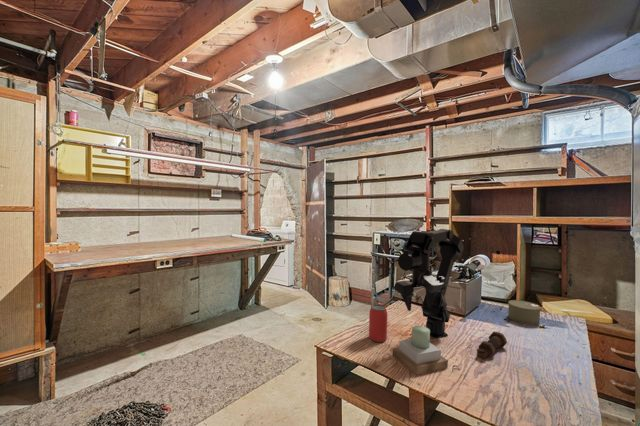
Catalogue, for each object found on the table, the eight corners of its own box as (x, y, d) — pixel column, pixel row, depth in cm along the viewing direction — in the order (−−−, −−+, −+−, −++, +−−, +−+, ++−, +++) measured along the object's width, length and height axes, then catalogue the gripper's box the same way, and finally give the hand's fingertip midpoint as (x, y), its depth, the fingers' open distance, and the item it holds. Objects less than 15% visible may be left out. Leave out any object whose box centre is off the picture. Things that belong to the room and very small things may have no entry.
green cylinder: (421, 339, 98) (421, 324, 98) (433, 347, 93) (433, 331, 93) (408, 342, 96) (408, 327, 96) (419, 350, 91) (420, 334, 91)
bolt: (478, 363, 97) (496, 348, 107) (493, 361, 94) (509, 346, 103) (470, 345, 99) (487, 332, 109) (483, 343, 96) (501, 329, 105)
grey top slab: (421, 345, 100) (421, 337, 100) (440, 359, 91) (440, 349, 91) (399, 349, 97) (399, 340, 97) (416, 364, 88) (417, 354, 88)
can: (503, 313, 138) (503, 298, 138) (531, 315, 136) (532, 301, 136) (514, 323, 127) (515, 307, 126) (545, 326, 124) (546, 310, 124)
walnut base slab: (421, 351, 102) (421, 342, 102) (447, 369, 91) (447, 360, 91) (392, 357, 98) (392, 348, 98) (416, 377, 87) (416, 367, 87)
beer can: (386, 343, 106) (387, 311, 105) (368, 341, 107) (369, 309, 106) (386, 335, 112) (387, 304, 112) (369, 333, 113) (369, 303, 113)
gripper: (415, 273, 94) (414, 321, 94) (458, 269, 101) (456, 313, 102) (393, 266, 104) (392, 309, 105) (434, 262, 111) (433, 302, 112)
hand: (419, 309), depth 106 cm, fingers open, 9 cm apart
